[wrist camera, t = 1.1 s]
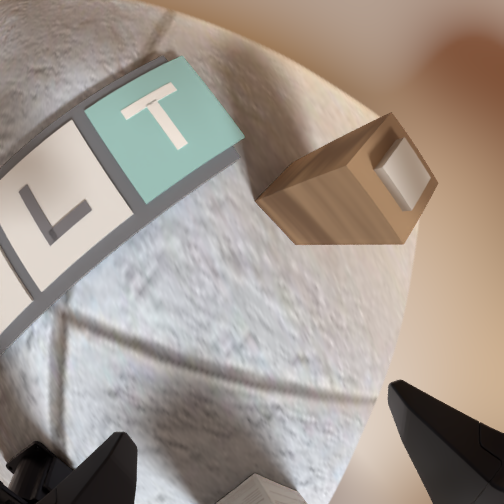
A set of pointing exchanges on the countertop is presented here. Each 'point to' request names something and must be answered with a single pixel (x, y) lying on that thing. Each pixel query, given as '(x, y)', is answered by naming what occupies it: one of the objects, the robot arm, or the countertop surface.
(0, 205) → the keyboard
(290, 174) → the brown wooden block
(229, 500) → the supplement box
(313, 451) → the countertop surface
